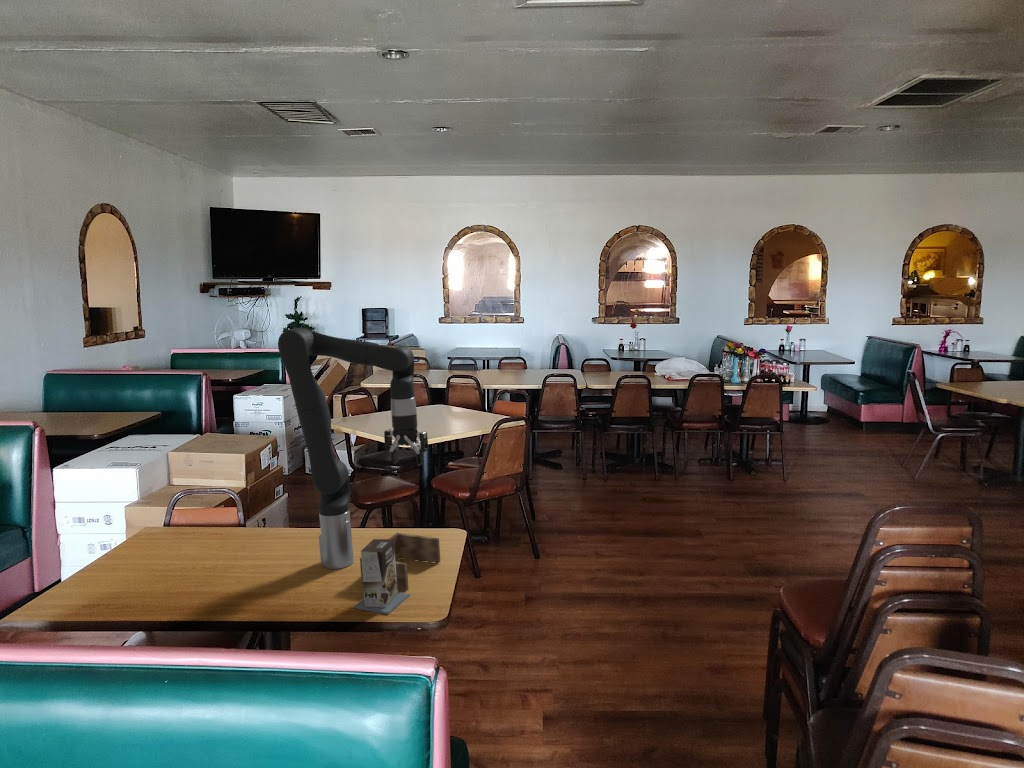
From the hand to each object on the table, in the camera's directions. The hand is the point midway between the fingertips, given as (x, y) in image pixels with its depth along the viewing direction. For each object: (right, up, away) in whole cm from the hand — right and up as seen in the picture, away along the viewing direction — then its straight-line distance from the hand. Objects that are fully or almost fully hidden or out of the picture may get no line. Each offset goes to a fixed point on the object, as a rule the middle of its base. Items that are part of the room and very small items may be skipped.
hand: (407, 464), depth 211 cm
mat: (-4, -36, -19) cm, 41 cm away
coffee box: (-4, -36, -19) cm, 41 cm away
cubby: (-1, -33, -1) cm, 33 cm away
